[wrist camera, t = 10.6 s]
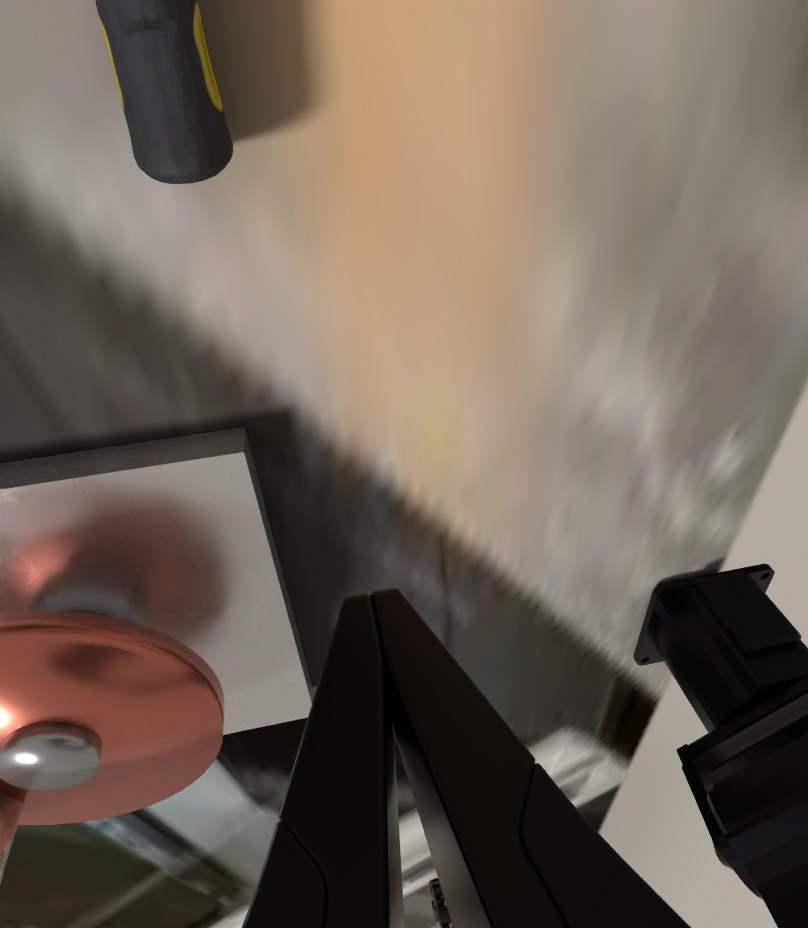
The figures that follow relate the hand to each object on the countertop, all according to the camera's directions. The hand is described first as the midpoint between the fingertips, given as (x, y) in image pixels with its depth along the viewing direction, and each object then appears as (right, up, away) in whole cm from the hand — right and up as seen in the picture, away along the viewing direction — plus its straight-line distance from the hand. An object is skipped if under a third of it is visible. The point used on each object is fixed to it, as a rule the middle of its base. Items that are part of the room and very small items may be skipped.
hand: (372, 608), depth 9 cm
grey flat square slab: (-12, -4, +15) cm, 20 cm away
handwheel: (-12, -7, +12) cm, 18 cm away
